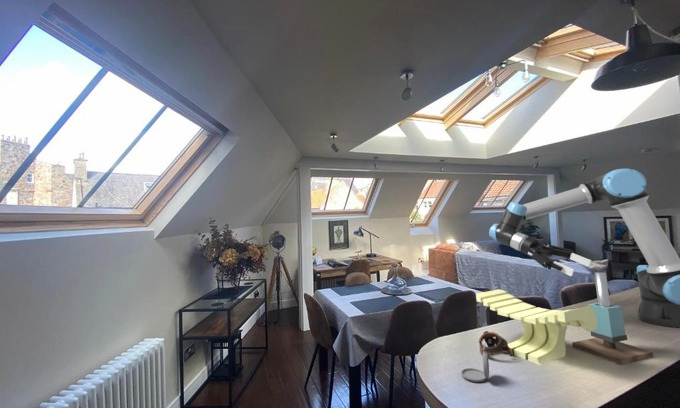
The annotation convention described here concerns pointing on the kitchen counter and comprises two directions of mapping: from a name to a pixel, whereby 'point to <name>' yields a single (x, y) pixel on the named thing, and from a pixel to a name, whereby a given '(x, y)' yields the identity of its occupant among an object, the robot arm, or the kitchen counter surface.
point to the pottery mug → (490, 341)
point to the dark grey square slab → (610, 339)
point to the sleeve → (609, 320)
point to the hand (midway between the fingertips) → (582, 268)
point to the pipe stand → (604, 348)
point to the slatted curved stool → (538, 325)
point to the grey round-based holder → (477, 374)
